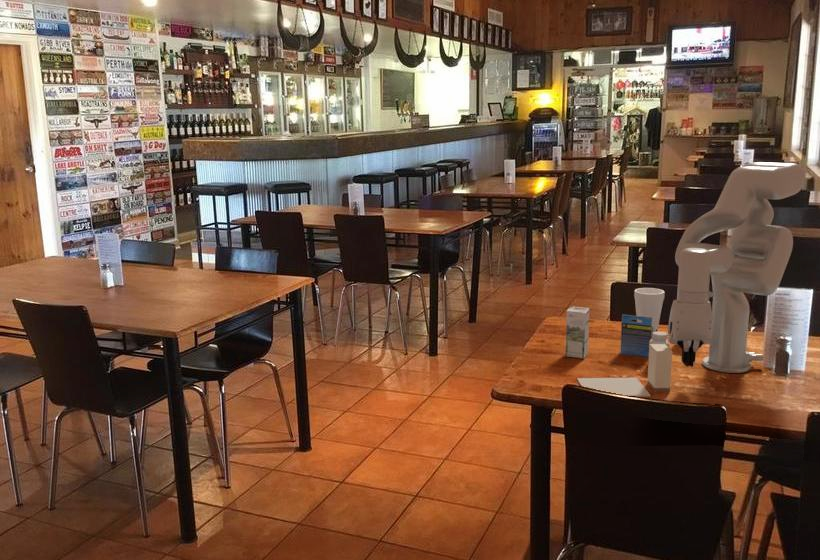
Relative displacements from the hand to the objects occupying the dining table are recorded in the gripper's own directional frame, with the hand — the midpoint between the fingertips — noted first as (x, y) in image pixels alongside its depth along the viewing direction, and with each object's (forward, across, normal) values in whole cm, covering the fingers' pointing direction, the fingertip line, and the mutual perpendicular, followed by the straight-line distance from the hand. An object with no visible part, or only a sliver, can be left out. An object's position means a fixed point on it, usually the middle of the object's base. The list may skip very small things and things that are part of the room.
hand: (687, 364), depth 194 cm
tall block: (+6, +7, 0) cm, 10 cm away
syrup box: (+6, +23, -27) cm, 36 cm away
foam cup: (+6, -6, -54) cm, 55 cm away
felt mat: (+6, +19, 0) cm, 20 cm away
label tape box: (+6, +5, -28) cm, 29 cm away
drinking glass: (+6, -13, -37) cm, 40 cm away
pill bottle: (+6, +2, -17) cm, 18 cm away
